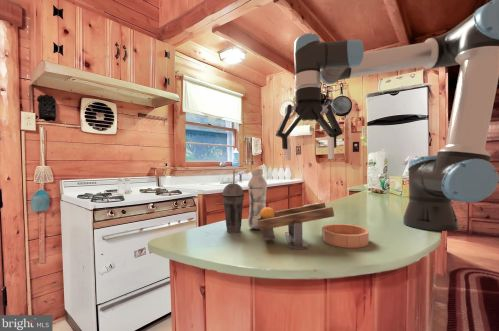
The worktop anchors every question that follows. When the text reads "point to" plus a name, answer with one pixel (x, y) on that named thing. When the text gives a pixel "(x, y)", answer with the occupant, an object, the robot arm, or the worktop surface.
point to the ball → (267, 213)
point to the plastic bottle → (256, 197)
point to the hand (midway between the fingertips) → (309, 159)
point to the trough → (293, 217)
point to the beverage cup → (233, 205)
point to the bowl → (345, 235)
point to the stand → (295, 236)
